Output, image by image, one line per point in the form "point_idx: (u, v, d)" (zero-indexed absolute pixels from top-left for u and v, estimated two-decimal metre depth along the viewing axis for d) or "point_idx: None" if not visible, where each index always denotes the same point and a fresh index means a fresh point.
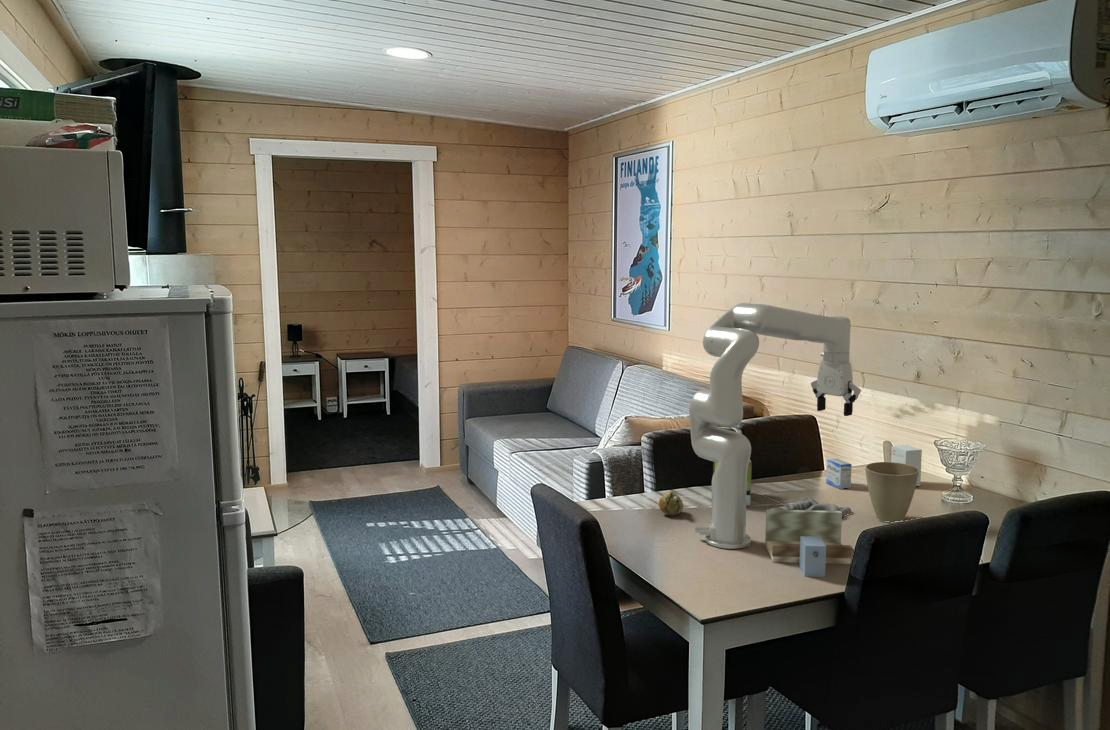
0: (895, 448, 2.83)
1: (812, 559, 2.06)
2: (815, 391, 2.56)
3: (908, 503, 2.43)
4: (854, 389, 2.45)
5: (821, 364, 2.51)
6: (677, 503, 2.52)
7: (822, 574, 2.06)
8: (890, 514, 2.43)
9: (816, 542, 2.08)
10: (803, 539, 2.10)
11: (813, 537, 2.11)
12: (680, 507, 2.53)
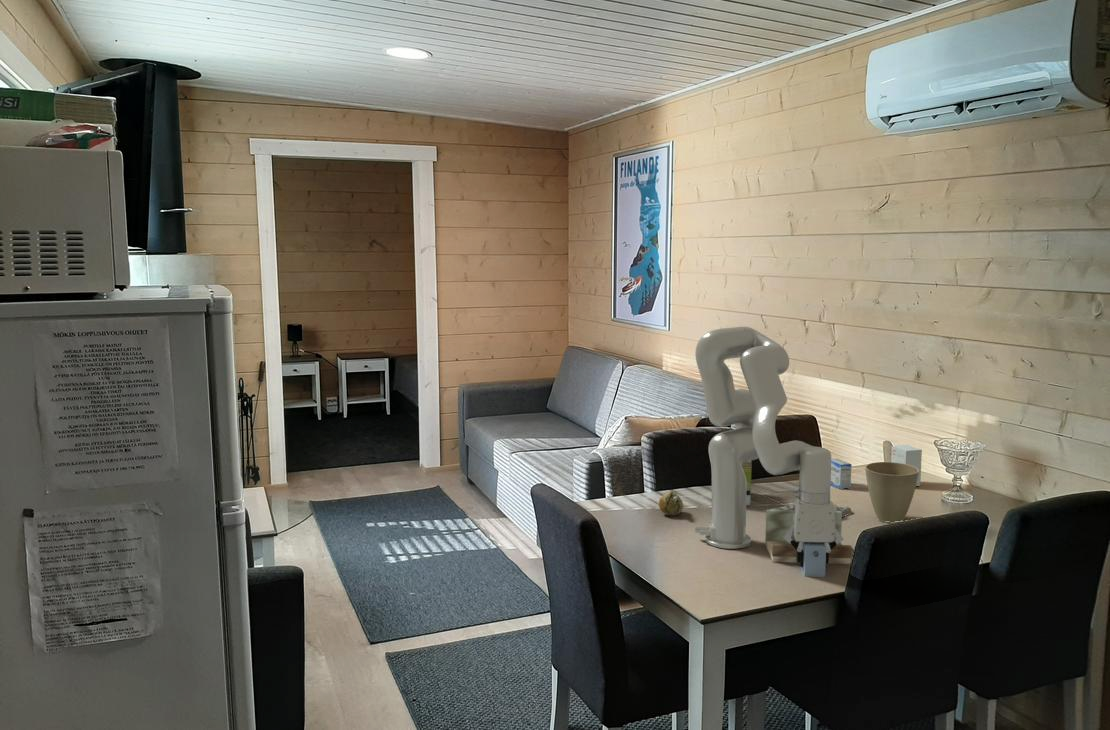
0: (895, 448, 2.83)
1: (813, 559, 2.06)
2: (795, 544, 2.09)
3: (908, 503, 2.43)
4: (838, 536, 2.07)
5: (802, 508, 2.05)
6: (677, 503, 2.52)
7: (822, 574, 2.06)
8: (890, 514, 2.43)
9: None
10: None
11: None
12: (680, 507, 2.53)
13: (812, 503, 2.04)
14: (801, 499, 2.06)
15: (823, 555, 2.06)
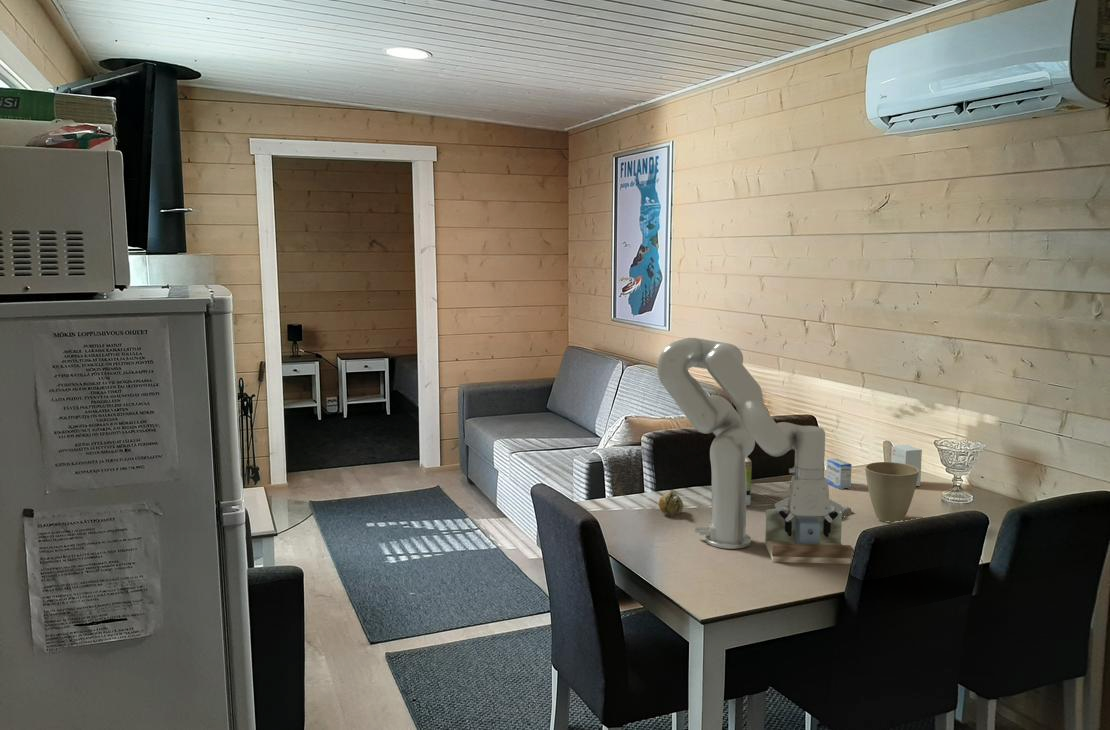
0: (895, 448, 2.83)
1: (807, 536, 2.17)
2: (783, 514, 2.20)
3: (908, 503, 2.43)
4: (836, 506, 2.18)
5: (797, 483, 2.17)
6: (677, 503, 2.52)
7: None
8: (890, 514, 2.43)
9: (810, 520, 2.20)
10: (798, 518, 2.22)
11: None
12: (680, 507, 2.53)
13: (807, 479, 2.15)
14: (796, 475, 2.17)
15: (817, 533, 2.17)
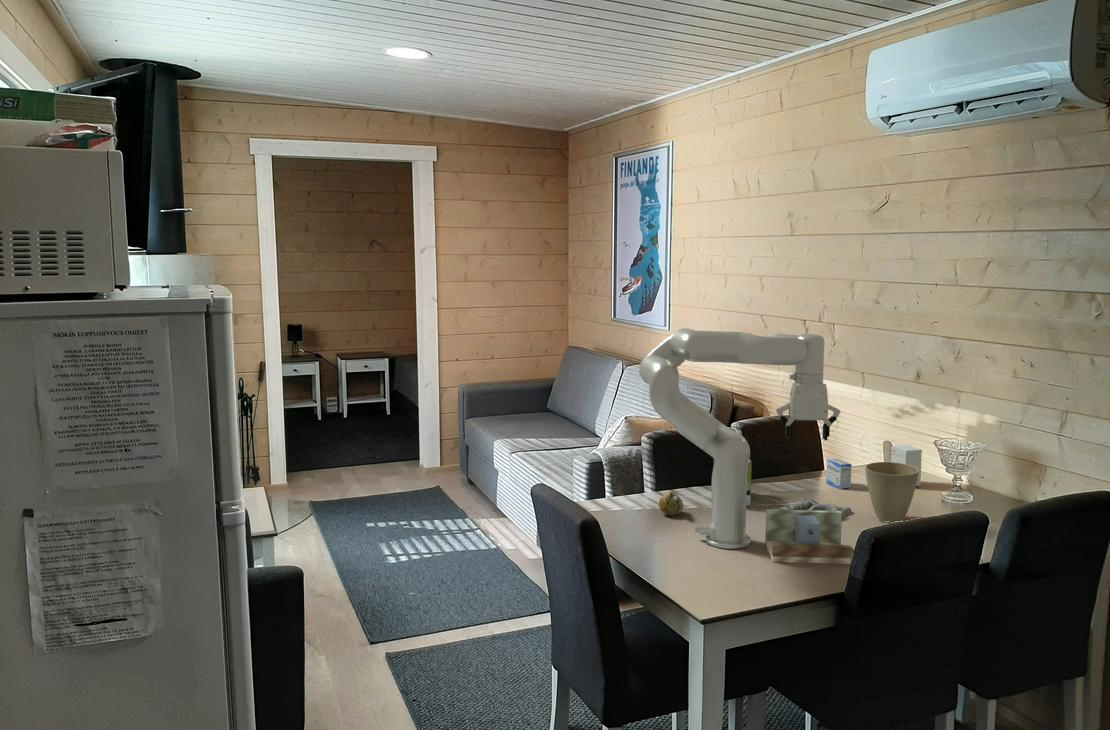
0: (895, 448, 2.83)
1: (807, 536, 2.17)
2: (784, 419, 2.30)
3: (908, 503, 2.43)
4: (835, 410, 2.29)
5: (797, 388, 2.27)
6: (677, 503, 2.52)
7: None
8: (890, 514, 2.43)
9: (810, 520, 2.20)
10: (798, 518, 2.22)
11: (808, 516, 2.23)
12: (680, 507, 2.53)
13: (807, 383, 2.25)
14: (797, 381, 2.28)
15: (817, 533, 2.17)
